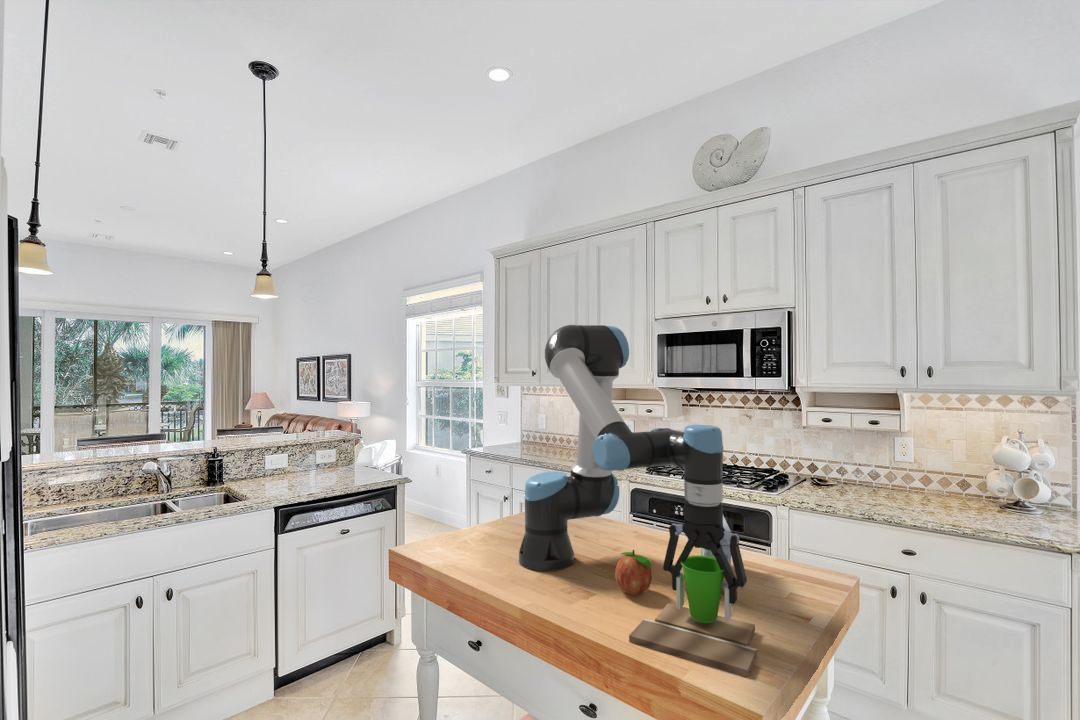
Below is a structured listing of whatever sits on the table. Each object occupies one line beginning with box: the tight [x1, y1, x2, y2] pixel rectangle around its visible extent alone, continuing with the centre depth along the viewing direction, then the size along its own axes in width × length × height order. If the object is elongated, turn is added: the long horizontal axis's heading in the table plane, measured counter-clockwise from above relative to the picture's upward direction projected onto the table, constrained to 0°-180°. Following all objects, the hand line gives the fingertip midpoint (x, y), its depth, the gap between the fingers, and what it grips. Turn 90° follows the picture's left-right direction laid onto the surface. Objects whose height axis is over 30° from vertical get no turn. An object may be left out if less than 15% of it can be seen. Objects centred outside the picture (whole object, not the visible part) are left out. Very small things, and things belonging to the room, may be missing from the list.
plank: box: [654, 602, 756, 647], centre depth 109 cm, size 18×8×1 cm, turn 57°
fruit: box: [614, 549, 653, 596], centre depth 126 cm, size 9×10×10 cm
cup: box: [681, 554, 724, 623], centre depth 109 cm, size 9×9×11 cm
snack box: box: [700, 515, 732, 596], centre depth 135 cm, size 21×6×15 cm, turn 168°
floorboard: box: [628, 618, 758, 678], centre depth 102 cm, size 22×8×1 cm, turn 57°
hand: (703, 612), depth 109 cm, fingers closed on cup, 9 cm apart
